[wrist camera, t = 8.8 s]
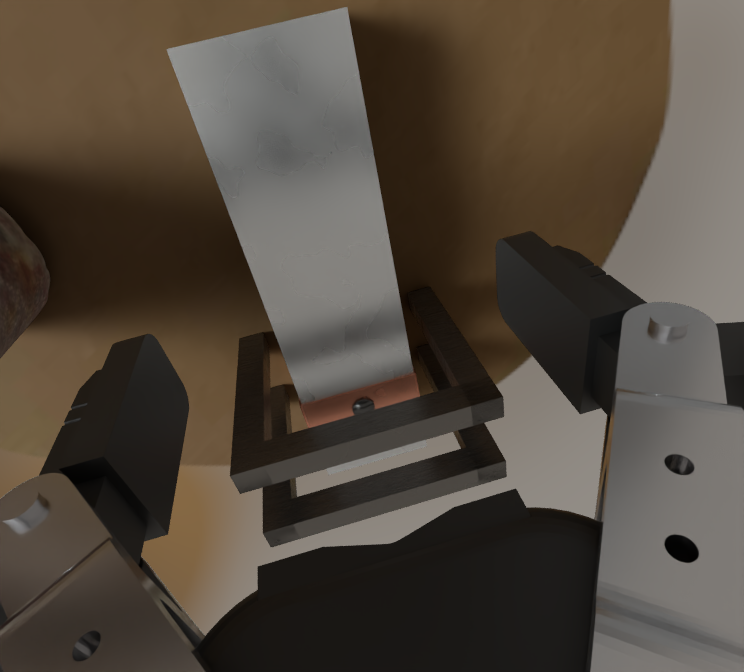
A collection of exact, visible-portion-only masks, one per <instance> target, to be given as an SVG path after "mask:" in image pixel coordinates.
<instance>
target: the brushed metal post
mask: <svg viewBox="0 0 744 672" xmlns="http://www.w3.org/2000/svg"><path fill="white" fill-rule="evenodd" d="M167 52H168V54H169V57H170V60H171V62H172V65H173V68H174V70H175V73H176V75H177V78H178V81H179V83H180V86H181V89H182V91H183V94H184V97H185V99H186V102H187V104H188V107H189V110H190V112H191V115H192V118H193V120H194V123H195V125H196V128H197V131H198V133H199V136H200V139H201V141H202V144H203V146H204V149H205V152H206V154H207V157H208V160H209V162H210V165H211V167H212V170H213V173H214V175H215V178H216V181H217V183H218V186H219V188H220V191H221V194H222V196H223V199H224V202H225V204H226V207H227V209H228V212H229V215H230V217H231V220H232V223H233V225H234V228H235V230H236V233H237V236H238V238H239V241H240V244H241V246H242V249H243V251H244V254H245V257H246V259H247V262H248V265H249V267H250V270H251V272H252V275H253V278H254V280H255V283H256V286H257V288H258V291H259V293H260V296H261V299H262V301H263V304H264V307H265V309H266V312H267V315H268V317H269V320H270V322H271V325H272V328H273V330H274V333H275V336H276V338H277V341H278V343H279V346H280V349H281V351H282V354H283V357H284V359H285V362H286V364H287V367H288V370H289V372H290V375H291V378H292V380H293V383H294V385H295V388H296V391H297V393H298V396H299V404H300V408H301V410H302V413H303V416H304V418H305V421H306V423H307V426H308V428H311V427H315V426H318V425H322V424H325V423H329V422H332V421H336V420H339V419H343V418H346V417H350V416H353V415H357V414H360V413H364V412H367V411H371V410H374V409H378V408H381V407H385V406H388V405H392V404H395V403H399V402H402V401H406V400H409V399H413V398H416V397H420V393H419V387H418V382H417V376H416V372H415V370H414V367H413V365H412V361H411V356H410V350H409V345H408V339H407V334H406V328H405V323H404V317H403V312H402V306H401V301H400V295H399V290H398V284H397V279H396V273H395V268H394V262H393V257H392V251H391V246H390V240H389V235H388V229H387V224H386V218H385V213H384V207H383V202H382V196H381V191H380V185H379V180H378V174H377V169H376V163H375V158H374V152H373V147H372V141H371V136H370V130H369V125H368V119H367V114H366V108H365V103H364V97H363V92H362V86H361V81H360V75H359V70H358V64H357V59H356V53H355V48H354V42H353V37H352V31H351V26H350V20H349V15H348V9H347V7H345V8H341V9H336V10H332V11H328V12H324V13H319V14H315V15H311V16H306V17H302V18H298V19H294V20H289V21H285V22H281V23H277V24H272V25H268V26H264V27H260V28H255V29H251V30H247V31H242V32H238V33H234V34H230V35H225V36H221V37H217V38H213V39H208V40H204V41H200V42H196V43H191V44H187V45H183V46H178V47H174V48H170V49H167ZM426 446H427V444H426V440H423V441H419V442H416V443H413V444H409V445H406V446H402V447H399V448H395V449H392V450H389V451H385V452H382V453H378V454H375V455H371V456H368V457H365V458H361V459H358V460H354V461H351V462H348V463H344V464H341V465H337V466H334V467H330V468H327V472H328V475H330V474H333V473H337V472H341V471H344V470H348V469H351V468H354V467H358V466H361V465H365V464H368V463H371V462H375V461H378V460H382V459H385V458H389V457H392V456H395V455H399V454H402V453H406V452H409V451H413V450H416V449H419V448H423V447H426Z"/></svg>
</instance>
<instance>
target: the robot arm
mask: <svg viewBox="0 0 744 672" xmlns="http://www.w3.org/2000/svg"><path fill="white" fill-rule="evenodd" d="M496 275H497V299H498V305H499V309H500V312H501V315H502V317H503V319H504V320H505V322H506V323H507V325H508V326H509V327H510V328H511V330H512V331H513V332H514V333H515V334H516V336H517V337H518V338H519V339H520V341H521V342H522V343H523V344H524V346H525V347H526V348H527V349H528V351H529V352H530V353H531V354H532V355H533V357H534V358H535V359H536V360H537V362H538V363H539V364H540V365H541V367H542V368H543V369H544V370H545V371H546V373H547V374H548V375H549V376H550V378H551V379H552V380H553V381H554V383H555V384H556V385H557V386H558V388H559V389H560V390H561V391H562V392H563V394H564V395H565V396H566V397H567V399H568V400H569V401H570V402H571V404H572V405H573V406H574V407H575V408H576V410H577V411H578V412H579V413H580V414H583V413H586V412H589V411H593V410H596V409H600V408H602V409H603V411H604V412H605V413H606V414H607V420H606V426H605V435H604V443H603V452H602V461H601V469H600V478H599V486H598V495H597V503H596V511H595V517H594V519H591V518H589V517H586V516H583V515H579V514H576V513H572V512H569V511H563V510H557V509H551V508H536V507H535V508H526V506H525V504H524V502H523V501H522V499H521V497H520V495H519V493H518V491H517V490H516V489H513V490H510V491H507V492H503V493H500V494H496V495H493V496H490V497H487V498H483V499H480V500H477V501H473V502H470V503H467V504H463V505H460V506H457V507H454V508H452V509H451V510H449V511H447V512H445V513H444V514H442V515H440V516H439V517H437V518H436V519H434V520H432V521H430V522H429V523H427V524H425V525H424V526H422V527H421V528H419V529H417V530H415V531H414V532H412V533H410V534H409V535H407V536H405V537H404V538H402V539H400V540H398V541H396V542H394V543H391V544H380V545H379V544H378V545H356V546H335V547H321V548H318V549H315V550H312V551H308V552H305V553H301V554H298V555H295V556H291V557H288V558H285V559H282V560H279V561H275V562H272V563H268V564H265V565H262V566H258V590H257V591H255V592H254V593H252V594H250V595H249V596H248V597H246V598H245V599H243V600H242V601H241V602H239V603H238V604H237V605H235V606H234V607H233V608H232V609H231V610H230V611H229V612H228V613H227V614H225V615H224V616H223V617H222V618H221V619H220V620H219V621H218V623H217V624H216V625H215V626H214V627H213V628H212V629H211V630H210V631H209V632H208V633H207V635H206V636H205V635H204V634H203V633H202V632H201V631H200V629H199V628H198V627H197V626H196V624H195V623H194V622H193V621H192V619H191V618H190V617H189V616H188V614H187V613H186V612H185V610H184V609H183V608H182V607H181V605H180V604H179V603H178V602H177V600H176V599H175V598H174V596H173V595H172V594H171V593H170V591H169V590H168V589H167V587H166V586H165V585H164V584H163V582H162V581H161V580H160V579H159V577H158V576H157V575H156V573H155V572H154V571H153V570H152V568H151V567H150V566H149V564H148V563H147V562H146V561H145V560H144V559H143V558H142V557H141V553H142V548H143V543H144V541H147V540H150V539H154V538H157V537H160V536H164V535H167V534H168V531H169V525H170V519H171V513H172V506H173V501H174V495H175V489H176V483H177V477H178V471H179V465H180V460H181V454H182V448H183V442H184V436H185V430H186V424H187V418H188V412H189V402H188V396H187V393H186V390H185V387H184V385H183V383H182V381H181V380H180V378H179V376H178V375H177V373H176V371H175V369H174V368H173V366H172V364H171V363H170V361H169V359H168V357H167V356H166V354H165V352H164V350H163V349H162V347H161V345H160V344H159V342H158V340H157V339H156V338H155V337H154V336H153V335H151V334H146V335H142V336H138V337H135V338H131V339H127V340H124V341H120V342H116V343H114V344H113V345H112V347H111V349H110V352H109V354H108V356H107V358H106V361H105V363H104V365H103V368H102V370H98V371H96V372H95V373H94V374H93V375H92V376H91V377H90V378H89V379H88V381H87V382H86V383H85V384H84V385H83V386H82V387H81V388H80V389H79V391H78V393H77V396H76V398H75V400H74V402H73V404H72V406H71V408H72V410H70V411H69V413H68V415H67V417H66V419H65V421H64V423H65V425H64V426H62V428H61V430H60V432H59V434H58V436H57V438H56V440H55V442H54V445H53V447H52V449H51V451H50V453H49V455H48V457H47V459H46V462H45V464H44V466H43V468H42V470H41V472H40V474H39V476H37V477H34V478H32V479H29V480H27V481H25V482H24V483H22V484H20V485H18V486H17V487H15V488H14V489H12V490H11V491H10V492H8V493H7V494H6V495H5V496H3V497H2V498H1V499H0V672H744V322H736V323H719V324H715V322H714V321H713V320H712V319H711V318H710V317H708V316H707V315H706V314H704V313H703V312H701V311H699V310H697V309H694V308H692V307H689V306H686V305H682V304H677V303H670V302H652V303H647V302H645V301H644V300H643V299H641V298H640V297H639V296H637V295H636V294H634V293H633V292H632V291H630V290H629V289H628V288H626V287H625V286H624V285H622V284H621V283H620V282H618V281H617V280H615V279H614V278H613V277H611V276H610V275H606V272H605V271H603V270H602V269H601V268H599V267H598V266H594V263H592V262H591V261H590V260H588V259H587V258H586V257H584V256H583V255H582V254H580V253H579V252H576V251H573V250H570V249H567V248H564V247H561V246H554V247H552V246H550V245H549V244H548V243H547V242H545V241H544V240H543V239H542V238H540V237H539V236H538V235H536V234H535V233H534V232H532V231H529V232H525V233H521V234H518V235H514V236H510V237H507V238H503V239H500V240H498V241H497V244H496Z"/></svg>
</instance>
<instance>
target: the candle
mask: <svg viewBox="0 0 744 672" xmlns="http://www.w3.org/2000/svg"><path fill="white" fill-rule="evenodd" d="M49 286H50V275H49V271H48V270H47V268H46V265H45V260H44V258H43V256H42V254H41V252H40V251H39V249H38V248H37V247H36V245H35V244H34V243H33V242H32V241H31V240H30V239H29V238H28V237H27V236H26V235H25V234H24V232H23V231H22V229H21V228H20V227H19V225H18V224H17V223H16V222H15V221H14V220H13V219H12V217H11V216H10V215H9V214H8V213H7V212H6V211H5V210H4V209H3V208H1V207H0V358H1V357H2V356H3V355H4V354H5V352H6V351H7V350H8V349H9V348H10V347H11V346H12V344H13V343H14V342H15V341H16V340H17V339H18V338H19V336H20V335H21V334H22V333H23V332H24V330H25V329H26V328H27V327H28V326H29V325H30V323H31V322H32V321H33V320H34V319H35V318H36V317H37V315H38V314H39V313H40V311H41V310H42V308H43V307H44V305H45V304H46V302H47V300H48V291H49Z"/></svg>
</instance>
